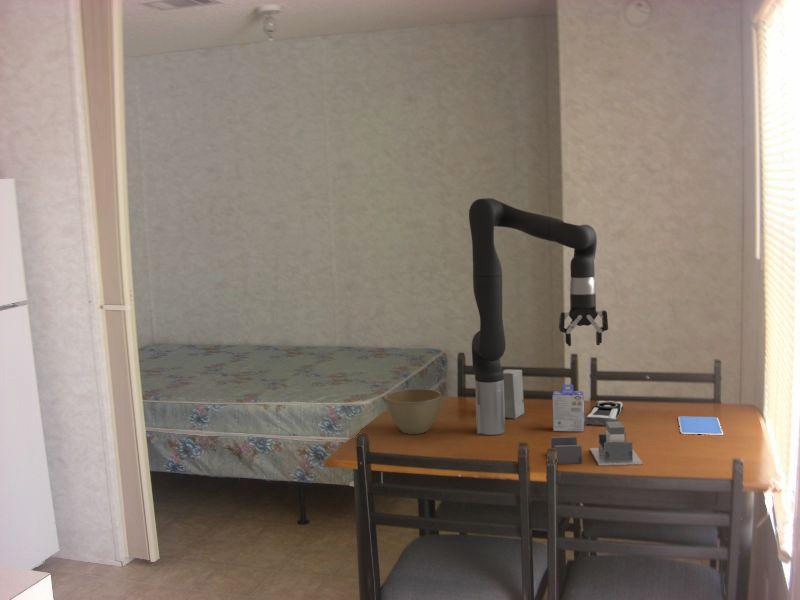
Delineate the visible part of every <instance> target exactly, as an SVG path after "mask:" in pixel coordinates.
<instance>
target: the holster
mask: <svg viewBox="0 0 800 600" xmlns="http://www.w3.org/2000/svg"><path fill="white" fill-rule="evenodd" d="M551 449H556V451H557V458H558V464H557V465H560V464H562V465H565V464H568V465H569V464H582V463H583V460H582V459H583V455H582V454H583V453H582V452H583V451H582V449H583V448H582V445H581V444H578V437H577V436H575V435H573V436H572V435H571V436H550V450H551Z"/></svg>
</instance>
